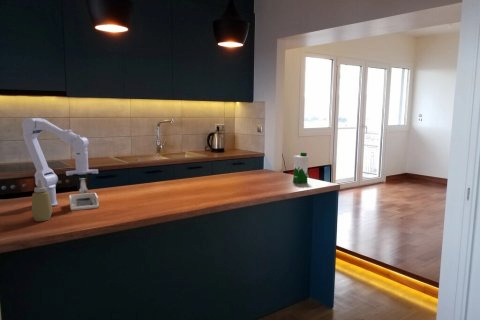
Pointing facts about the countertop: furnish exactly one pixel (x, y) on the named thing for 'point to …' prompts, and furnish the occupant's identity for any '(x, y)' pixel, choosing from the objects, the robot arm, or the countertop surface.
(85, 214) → the countertop surface
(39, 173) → the robot arm
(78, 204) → the inlet socket
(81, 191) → the steel plug
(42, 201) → the squeeze bottle
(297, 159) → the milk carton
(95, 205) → the walled box
